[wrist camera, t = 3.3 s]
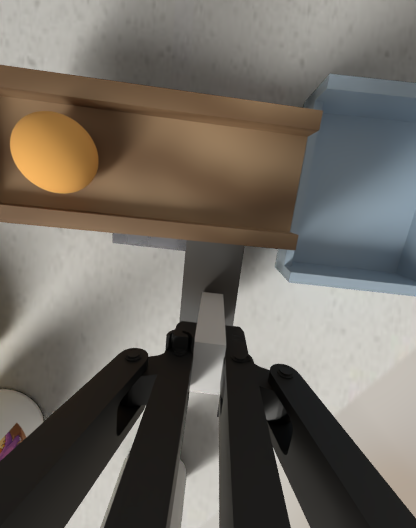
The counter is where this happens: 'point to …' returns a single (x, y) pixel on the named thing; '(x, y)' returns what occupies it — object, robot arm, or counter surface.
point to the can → (178, 498)
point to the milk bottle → (16, 419)
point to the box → (357, 189)
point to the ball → (54, 152)
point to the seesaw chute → (166, 171)
